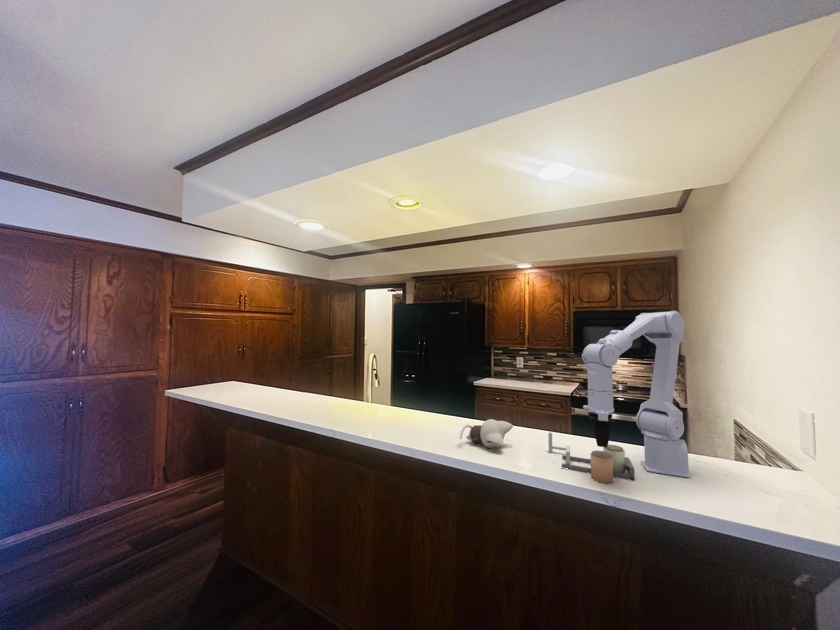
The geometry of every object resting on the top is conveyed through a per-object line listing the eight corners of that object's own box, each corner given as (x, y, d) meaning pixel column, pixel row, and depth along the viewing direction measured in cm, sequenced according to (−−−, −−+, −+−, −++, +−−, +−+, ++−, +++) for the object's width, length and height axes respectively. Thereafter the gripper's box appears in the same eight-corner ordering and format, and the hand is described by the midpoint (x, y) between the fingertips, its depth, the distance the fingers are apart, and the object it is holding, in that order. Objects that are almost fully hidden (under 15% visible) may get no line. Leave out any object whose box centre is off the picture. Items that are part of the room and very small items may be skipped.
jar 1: (612, 477, 84) (611, 452, 85) (614, 485, 80) (613, 458, 80) (590, 474, 86) (589, 449, 87) (591, 481, 82) (591, 454, 82)
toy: (463, 459, 107) (504, 459, 98) (453, 435, 107) (494, 433, 98) (478, 435, 118) (517, 434, 109) (469, 413, 117) (508, 410, 108)
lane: (629, 468, 91) (628, 457, 91) (634, 480, 83) (634, 468, 83) (562, 458, 98) (562, 448, 98) (561, 468, 90) (561, 457, 90)
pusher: (570, 453, 101) (569, 434, 102) (570, 467, 90) (569, 445, 91) (548, 450, 104) (548, 431, 104) (546, 463, 93) (546, 442, 93)
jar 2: (623, 470, 90) (623, 446, 90) (626, 477, 85) (625, 451, 86) (602, 466, 92) (602, 443, 92) (604, 473, 87) (604, 448, 88)
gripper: (582, 385, 93) (582, 434, 92) (584, 392, 80) (585, 449, 79) (610, 387, 90) (611, 437, 89) (617, 395, 77) (618, 454, 76)
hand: (601, 443), depth 84 cm, fingers open, 4 cm apart
